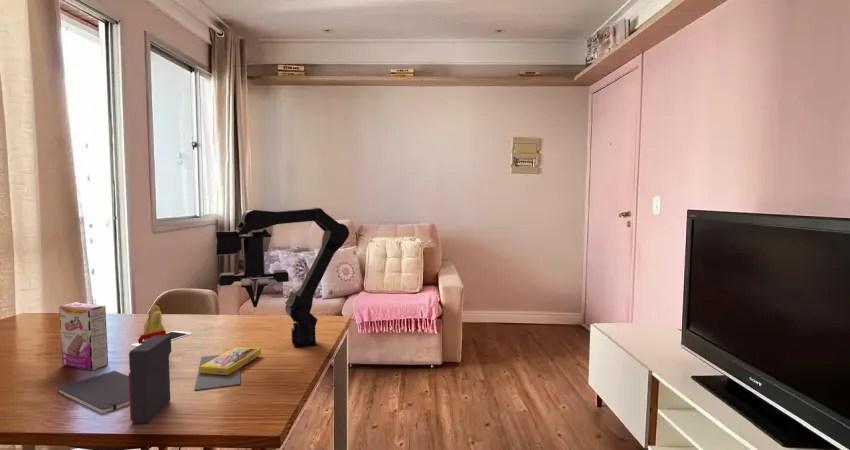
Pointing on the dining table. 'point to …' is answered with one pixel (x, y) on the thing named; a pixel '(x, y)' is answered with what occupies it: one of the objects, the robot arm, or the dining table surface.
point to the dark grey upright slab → (149, 378)
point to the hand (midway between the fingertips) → (255, 306)
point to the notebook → (100, 391)
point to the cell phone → (173, 335)
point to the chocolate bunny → (153, 325)
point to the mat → (215, 377)
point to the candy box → (230, 361)
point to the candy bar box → (83, 335)
